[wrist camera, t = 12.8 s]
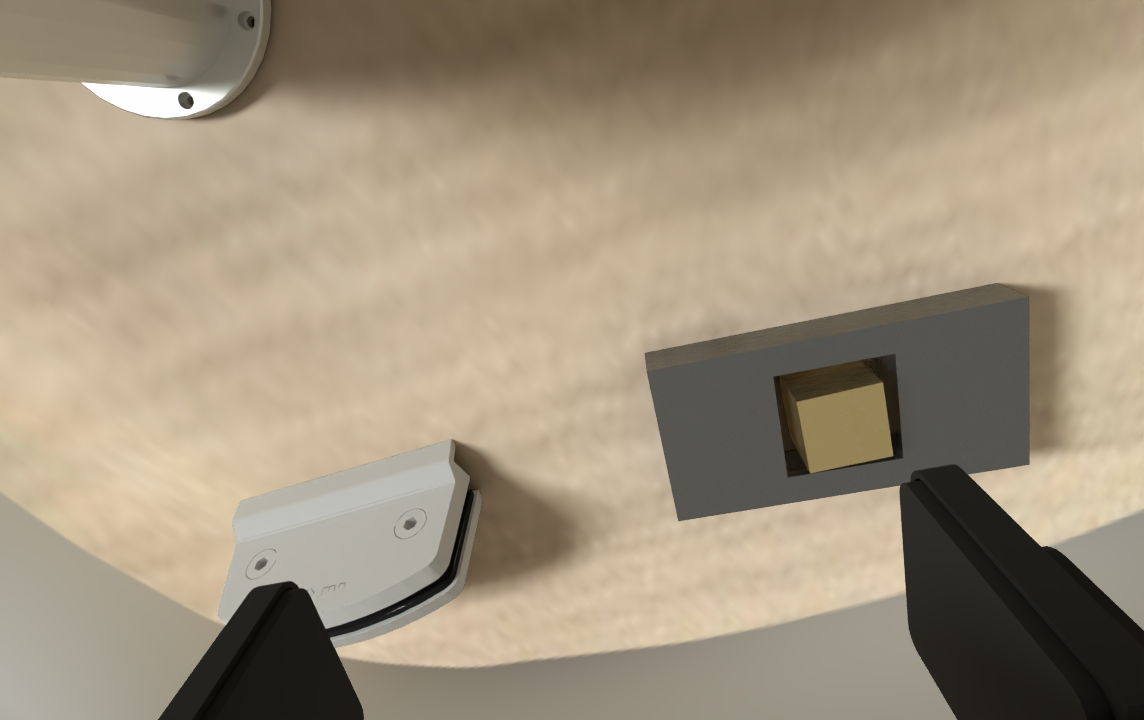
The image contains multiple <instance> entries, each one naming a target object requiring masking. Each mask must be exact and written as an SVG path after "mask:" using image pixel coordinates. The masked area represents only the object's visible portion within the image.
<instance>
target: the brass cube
mask: <svg viewBox="0 0 1144 720" xmlns="http://www.w3.org/2000/svg"><path fill="white" fill-rule="evenodd" d="M778 377H779V382H780V388H781V393H782V398H783V403H784V408H785V413H786V418H787V423H788V428H789V433H790V438H791V440H792V441H793V443H794V445H795V447H796V449H797V450H798V452H799V454H800V456H801V458H802V460H803V461H804V463H805V465H806V467H807V469H808V470H809V472H810V473H815V472H819V471H824V470H829V469H834V468H838V467H843V466H848V465H853V464H857V463H862V462H867V461H872V460H877V459H881V458H886V457H891V456H893V450H892V443H891V436H890V429H889V422H888V415H887V407H886V400H885V393H884V386H883V382H882V381H881V380H880V379H879V378H878V377H877V376H876V375H875V374H874V373H873V372H872V371H871V370H870V369H869V368H868V367H867V366H866V365H865V364H864V363H863V362H862V361H861V360H859V361H854V362H848V363H843V364H838V365H832V366H827V367H822V368H816V369H811V370H806V371H800V372H795V373H790V374H785V375H779V376H778Z"/></svg>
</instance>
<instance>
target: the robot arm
mask: <svg viewBox="0 0 1144 720" xmlns="http://www.w3.org/2000/svg"><path fill="white" fill-rule="evenodd" d="M253 18H254V20H255V25H254V27H253V26H252V23H251V21H252V19H253ZM270 21H271V0H0V77H3V78H17V79H31V80H46V81H60V82H75V83H81V84H82V85H84V86H85V87H87V88H88V89H89V90H91V91H92V92H93V93H95V94H96V95H97V96H99V97H100V98H101V99H103V100H105V101H107V102H109V103H110V104H112V105H114V106H116V107H118V108H120V109H122V110H124V111H127V112H130V113H134V114H137V115H140V116H143V117H148V118H157V119H166V120H173V119H190V118H195V117H199V116H204V115H208V114H210V113H212V112H214V111H216V110H218V109H220V108H223V107H225V106H226V105H227V104H229V103H230V102H231V101H232V100H234V99H235V98H236V97H237V96H238V95H240V94H241V93H242V92H243V90H244V89H245V88H246V86H247V85H248V84H249V83H250V81H251V80H252V79H253V78H254V76H255V74H256V72H257V70H258V68H259V66H260V63H261V61H262V59H263V57H264V54H265V50H266V46H267V42H268V38H269V34H270ZM192 99H194V104H193V101H192ZM900 506H901V521H902V537H903V552H904V567H905V582H906V597H907V612H908V625H909V631H910V635H911V638H912V641H913V643H914V646H915V648H916V650H917V652H918V654H919V656H920V657H921V659H922V661H923V662H924V664H925V666H926V667H927V669H928V670H929V672H930V674H931V676H932V677H933V679H934V681H935V682H936V684H937V686H938V688H939V689H940V691H941V693H942V694H943V696H944V698H945V700H946V701H947V703H948V705H949V706H950V708H951V710H952V711H953V713H954V715H955V716H956V718H957V720H1144V631H1143V630H1142V629H1141V628H1140V627H1139V626H1138V625H1137V624H1136V623H1135V622H1134V621H1133V620H1132V619H1131V618H1130V617H1129V616H1128V615H1127V614H1126V613H1125V612H1124V611H1123V610H1121V609H1120V608H1119V607H1118V606H1117V605H1116V604H1115V603H1114V602H1113V601H1112V600H1111V599H1110V598H1109V597H1108V596H1107V595H1106V594H1104V592H1103V591H1102V590H1100V589H1099V588H1098V587H1097V586H1096V585H1095V584H1094V583H1093V582H1092V581H1091V580H1090V579H1089V578H1088V577H1087V576H1086V575H1085V574H1084V573H1083V572H1082V571H1081V570H1080V569H1078V568H1077V567H1076V566H1075V565H1074V564H1073V563H1072V562H1071V561H1070V560H1069V559H1068V558H1067V557H1066V556H1065V555H1063V554H1062V553H1061V552H1059V551H1058V550H1056V549H1054V548H1051V547H1048V546H1045V547H1041V546H1040V545H1039V544H1038V543H1037V542H1036V541H1035V540H1034V539H1033V538H1032V537H1030V536H1029V535H1028V534H1027V533H1026V532H1025V531H1024V530H1023V529H1022V528H1021V527H1020V526H1019V525H1018V524H1017V523H1016V522H1015V521H1014V520H1013V519H1012V518H1011V517H1010V516H1009V515H1008V514H1007V513H1006V512H1005V511H1004V510H1003V509H1002V508H1001V507H1000V506H999V505H998V504H997V503H996V502H995V501H994V500H993V499H992V498H991V497H990V496H989V495H988V494H987V493H986V492H985V491H984V490H983V489H982V488H981V487H980V486H979V485H978V484H977V483H976V482H975V481H974V480H973V479H972V478H971V477H970V476H969V475H968V474H967V473H966V472H965V471H964V470H963V469H962V468H960V467H959V466H958V465H955V464H951V465H945V466H939V467H934V468H928V469H922V470H917V471H914V472H913V473H912V474H911V478H910V482H907V483H902V484H901V486H900ZM158 720H364V715H363V709H362V706H361V704H360V702H359V699H358V697H357V695H356V693H355V691H354V689H353V687H352V684H351V682H350V680H349V678H348V676H347V674H346V671H345V669H344V667H343V665H342V663H341V661H340V659H339V656H338V654H337V652H336V650H335V648H334V646H333V644H332V641H331V639H330V637H329V635H328V633H327V631H326V629H325V626H324V624H323V622H322V620H321V618H320V616H319V614H318V611H317V609H316V607H315V605H314V603H313V601H312V599H311V596H310V595H309V593H308V591H307V590H305V589H303V588H299V587H298V585H297V584H295V583H294V582H292V581H286V582H280V583H274V584H269V585H263V586H258V587H255V588H253V589H252V590H251V591H250V592H249V593H248V595H247V596H246V598H245V599H244V600H243V602H242V603H241V605H240V606H239V607H238V609H237V610H236V612H235V613H234V614H233V616H232V617H231V619H230V620H229V621H228V623H227V624H226V626H225V627H224V628H223V630H222V631H221V633H220V634H219V635H218V637H217V638H216V640H215V641H214V642H213V644H212V645H211V647H210V648H209V649H208V651H207V652H206V654H205V655H204V656H203V658H202V659H201V660H200V662H199V663H198V665H197V666H196V667H195V669H194V670H193V672H192V673H191V674H190V676H189V677H188V679H187V680H186V681H185V683H184V684H183V686H182V687H181V688H180V690H179V691H178V693H177V694H176V695H175V697H174V698H173V700H172V701H171V702H170V704H169V705H168V707H167V708H166V709H165V711H164V712H163V714H162V715H161V716H160V718H159V719H158Z"/></svg>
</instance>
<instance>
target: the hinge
mask: <svg viewBox="0 0 1144 720" xmlns="http://www.w3.org/2000/svg"><path fill="white" fill-rule="evenodd" d="M455 446H456V445H455V443H454V442H453V441H452V440H448V441H444V442H441V443H437V444H434V445H430V446H427V447H424V448H420V449H417V450H413V451H410V452H406V453H403V454H400V455H396V456H393V457H389V458H386V459H382V460H379V461H376V462H372V463H369V464H365V465H362V466H358V467H355V468H352V469H348V470H345V471H341V472H338V473H334V474H331V475H328V476H324V477H321V478H317V479H314V480H310V481H307V482H304V483H300V484H297V485H293V486H290V487H286V488H283V489H280V490H276V491H273V492H269V493H266V494H262V495H259V496H256V497H252V498H249V499H245V500H242V501H240V504H239V506H238V508H237V511H236V513H235V516H234V518H233V521H232V524H233V529H234V533H235V537H236V547H235V551H234V554H233V558H232V561H231V565H230V568H229V572H228V575H227V579H226V582H225V586H224V589H223V593H222V596H221V600H220V603H219V607H218V610H217V613H218V617H219V618H220V619H221V621H222V622H223V623H224V624H225V626H226V624H227V623H228V621H229V620H230V619H231V617H232V616H233V614H234V613H235V612H236V610H237V609H238V607H239V606H240V605H241V603H242V602H243V600H244V599H245V598H246V596H247V595H248V593H249V592H250V591H251V590H252V589H253V588H255V587H258V586H263V585H269V584H274V583H280V582H286V581H292V582H294V583H295V584H297V585H298V587H299V588H303V589H305V590H307V591H308V593H309V595H310V596H311V599H312V601H313V603H314V605H315V607H316V609H317V611H318V614H319V616H320V618H321V620H322V622H323V624H324V626H325V629H326V631H327V633H328V635H329V637H330V639H331V641H332V644H333V646H334V648H337V647H342V646H346V645H351V644H354V643H358V642H362V641H365V640H369V639H371V638H374V637H377V636H380V635H383V634H386V633H388V632H391V631H393V630H396V629H398V628H401V627H403V626H405V625H407V624H409V623H411V622H414V621H416V620H418V619H420V618H422V617H424V616H425V615H427V614H429V613H431V612H433V611H435V610H437V609H438V608H440V607H442V606H443V605H445V604H446V603H448V602H450V601H451V600H453V599H455V598H456V597H457V596H458V595H459V594H460V593H461V591H462V590H463V588H464V585H465V580H466V576H467V571H468V566H469V562H470V557H471V552H472V548H473V543H474V538H475V534H476V529H477V525H478V520H479V515H480V511H481V506H482V498H481V495H480V492H479V490H475V491H472V490H469V491H467V490H468V485H469V480H470V476H469V475H468V474H466V473H465V472H464V471H463V470H462V469H461V468H460V467H459V466H458V465H457V464H456V463H455V462H454V455H455Z"/></svg>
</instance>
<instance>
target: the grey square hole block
mask: <svg viewBox="0 0 1144 720" xmlns="http://www.w3.org/2000/svg"><path fill="white" fill-rule="evenodd" d="M875 357H877V368H878V378H879V379H880V380H881V381H882V382H883V386H884V393H885V400H886V407H887V415H888V422H889V429H890V436H891V443H892V450H893V456H891V457H886V458H881V459H877V460H872V461H867V462H862V463H857V464H853V465H848V466H843V467H838V468H834V469H829V470H824V471H819V472H815V473H810V472H809V470H808V469H807V467H806V465H805V463H804V461H803V460H802V458H801V456H800V454H799V452H798V450H791V451H785V452H784V448H783V441H782V434H781V427H780V420H779V413H778V406H777V399H776V392H775V385H774V378H773V377H774V376H779V375H785V374H790V373H795V372H800V371H806V370H811V369H816V368H822V367H827V366H832V365H838V364H843V363H848V362H854V361H859V360H864V359H869V358H875ZM645 360H646V369H647V374H648V379H649V384H650V389H651V393H652V398H653V403H654V408H655V412H656V417H657V422H658V427H659V431H660V436H661V441H662V446H663V450H664V455H665V460H666V464H667V469H668V474H669V479H670V483H671V488H672V493H673V498H674V502H675V507H676V512H677V517H678V521H682V520H689V519H695V518H701V517H707V516H713V515H720V514H726V513H732V512H738V511H744V510H751V509H757V508H763V507H769V506H775V505H782V504H788V503H794V502H800V501H806V500H813V499H819V498H825V497H831V496H837V495H844V494H850V493H856V492H862V491H868V490H875V489H881V488H887V487H893V486H899V485H901V484H902V483H907V482H910V478H911V474H912V473H913V472H914V471H917V470H922V469H928V468H934V467H939V466H945V465H951V464H955V465H958V466H959V467H960V468H962V469H963V470H964V471H965V472H966V473H967V474H974V473H980V472H986V471H992V470H999V469H1005V468H1011V467H1017V466H1023V465H1029V297H1028V296H1026V295H1023V294H1021V293H1019V292H1016V291H1014V290H1012V289H1009V288H1007V287H1005V286H1002V285H1000V284H998V283H996V284H991V285H986V286H980V287H975V288H970V289H965V290H960V291H955V292H950V293H945V294H940V295H935V296H930V297H925V298H920V299H915V300H910V301H905V302H900V303H895V304H890V305H885V306H880V307H875V308H870V309H865V310H860V311H855V312H850V313H845V314H839V315H834V316H829V317H824V318H819V319H814V320H809V321H804V322H799V323H794V324H789V325H784V326H779V327H774V328H769V329H764V330H759V331H754V332H749V333H744V334H739V335H734V336H729V337H724V338H719V339H714V340H709V341H704V342H698V343H693V344H688V345H683V346H678V347H673V348H668V349H663V350H658V351H653V352H648V353H645Z"/></svg>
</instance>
